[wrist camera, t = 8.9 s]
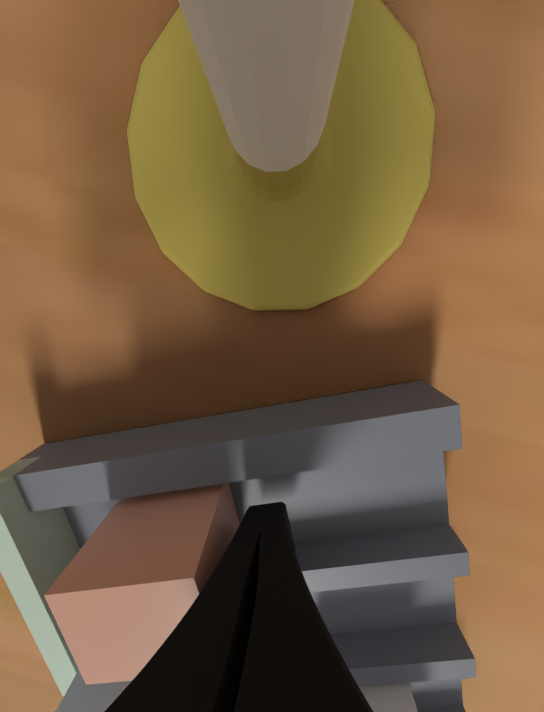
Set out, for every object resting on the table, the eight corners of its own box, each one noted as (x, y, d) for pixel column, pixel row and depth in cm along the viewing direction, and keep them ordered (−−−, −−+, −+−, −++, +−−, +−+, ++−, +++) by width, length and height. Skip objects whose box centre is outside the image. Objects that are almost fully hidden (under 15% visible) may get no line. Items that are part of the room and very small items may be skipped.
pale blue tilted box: (207, 584, 12) (171, 724, 8) (225, 640, 13) (199, 794, 9) (119, 594, 12) (44, 732, 9) (141, 648, 13) (80, 799, 9)
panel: (422, 379, 11) (476, 416, 8) (450, 692, 15) (494, 801, 12) (43, 443, 12) (-38, 495, 9) (154, 714, 16) (123, 817, 13)
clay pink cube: (226, 474, 11) (193, 577, 7) (245, 543, 12) (224, 672, 8) (128, 489, 11) (44, 595, 7) (151, 555, 12) (85, 684, 8)
